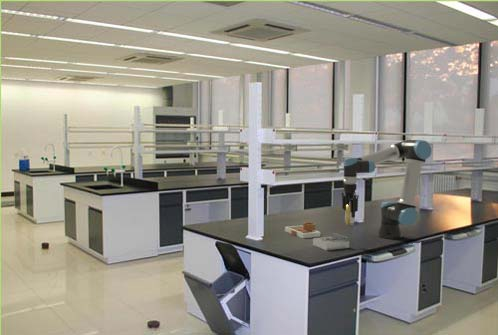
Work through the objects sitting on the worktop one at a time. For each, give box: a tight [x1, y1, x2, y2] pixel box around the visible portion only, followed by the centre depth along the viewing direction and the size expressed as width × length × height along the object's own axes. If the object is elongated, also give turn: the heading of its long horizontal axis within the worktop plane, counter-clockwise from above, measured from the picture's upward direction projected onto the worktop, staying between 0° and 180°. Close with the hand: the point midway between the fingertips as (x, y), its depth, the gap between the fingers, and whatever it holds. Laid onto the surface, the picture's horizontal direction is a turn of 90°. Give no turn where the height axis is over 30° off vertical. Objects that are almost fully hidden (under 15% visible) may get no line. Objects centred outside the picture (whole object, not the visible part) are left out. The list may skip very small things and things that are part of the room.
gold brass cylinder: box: [345, 203, 354, 226], centre depth 265 cm, size 4×4×12 cm
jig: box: [312, 232, 350, 251], centre depth 262 cm, size 16×14×6 cm
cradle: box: [284, 224, 321, 239], centre depth 296 cm, size 13×23×3 cm, turn 24°
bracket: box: [290, 221, 316, 237], centre depth 296 cm, size 18×8×7 cm, turn 121°
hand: (349, 221), depth 266 cm, fingers closed on gold brass cylinder, 4 cm apart
